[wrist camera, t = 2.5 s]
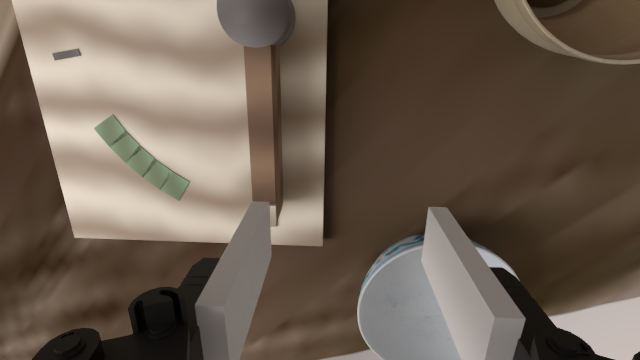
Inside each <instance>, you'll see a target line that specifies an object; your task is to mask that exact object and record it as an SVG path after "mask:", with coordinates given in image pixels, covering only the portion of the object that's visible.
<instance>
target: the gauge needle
mask: <svg viewBox="0 0 640 360" xmlns="http://www.w3.org/2000/svg"><path fill="white" fill-rule="evenodd" d="M217 15H218V19H219V21H220V24H221V26H222V28H223V29H224V31H225V32H226V34H227V35H228V36H229V37H230V38H231V39H232V40H234V41H235V42H237V43H239V44H240V45H243V46H244V63H245V80H246V97H247V114H248V131H249V148H250V165H251V183H252V200H253V201H257V202H269V204H270V227H276V226H277V221H278V218H279V216H280V213H281V210H282V207H283V168H282V127H281V86H280V45H281V44H283V43H284V42H285V41H286V40H288V38H289V37H290V36H291V34H292V32H293V30H294V26H295V20H296V16H295V9H294V6H293V3H292V1H291V0H217Z"/></svg>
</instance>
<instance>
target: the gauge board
mask: <svg viewBox="0 0 640 360" xmlns="http://www.w3.org/2000/svg"><path fill="white" fill-rule="evenodd" d="M291 1H292V3H293V6H294V9H295V16H296V20H295V26H294V30H293V32H292V34H291V36H290V37H289V38H288V40H286V41H285V42H284V43H283V44H281V45H280V86H281V127H282V168H283V207H282V210H281V213H280V216H279V218H278V221H277V226H276V227H270V229H271V244H273V245H302V246H323V216H324V167H325V118H326V69H327V20H328V0H291ZM12 3H13V7H14V11H15V14H16V18H17V22H18V26H19V29H20V33H21V37H22V41H23V45H24V48H25V52H26V56H27V60H28V63H29V67H30V71H31V75H32V78H33V82H34V86H35V90H36V93H37V97H38V101H39V105H40V109H41V112H42V116H43V120H44V124H45V127H46V131H47V135H48V139H49V142H50V146H51V150H52V154H53V158H54V161H55V165H56V169H57V173H58V176H59V180H60V184H61V188H62V191H63V195H64V199H65V203H66V207H67V210H68V214H69V218H70V222H71V225H72V229H73V233H74V237H75V238H101V239H130V240H158V241H187V242H216V243H229V242H230V240H231V239H232V237H233V235H234V233H235V231H236V230H237V228H238V226H239V224H240V222H241V221H242V219H243V217H244V215H245V213H246V211H247V210H248V208H249V206H250V204H251V202H252V201H253V200H252V183H251V165H250V148H249V131H248V114H247V97H246V80H245V63H244V46H243V45H240V44H239V43H237V42H235V41H234V40H232V39H231V38H230V37H229V36H228V35H227V34H226V32H225V31H224V29H223V28H222V26H221V24H220V21H219V19H218V15H217V0H12Z"/></svg>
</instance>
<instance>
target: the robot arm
mask: <svg viewBox="0 0 640 360" xmlns="http://www.w3.org/2000/svg"><path fill="white" fill-rule="evenodd" d="M271 256H272V254H271V229H270V204H269V202H257V201H252V202H251V204H250V206H249V208H248V210H247V211H246V213H245V215H244V217H243V219H242V221H241V222H240V224H239V226H238V228H237V230H236V231H235V233H234V235H233V237H232V239H231V240H230V242H229V244H228V246H227V248H226V249H225V251H224V253H223V255H222V257H221V258H203V259H201V260H200V261H199V262H197V263H196V264H195V265H193V266H192V268H191V269H190V271H189V272H188V274H187V275H186V278H184V280H183V281H182V283H181V286H179V287H178V289H177V288H172V287H160V288H156V289H152V290H149V291H147V292H145V293H143V294H141V295H139V296H138V297H137V298H136V299H135V300H133V301H132V303H131V304H130V306H129V308H128V311H129V315H130V320H131V324H132V329H133V333H134V334H131V335H128V336H124V337H119V338H114V339H109V340H104V341H101V339H100V335H99V332H97V331H96V330H94V329H90V328H80V329H74V330H71V331H68V332H66V333H63V334H61V335H59V336H57V337H56V338H54V339H52V340H50V341H49V342H48V343H47V344H46V345H45V346H44V347H43V348H41V349H40V351H39V352H38V353H37V354H36V355H35V356H34V358H33V359H32V360H239V359H240V356H241V353H242V349H243V346H244V343H245V340H246V337H247V333H248V330H249V327H250V324H251V321H252V317H253V314H254V311H255V308H256V304H257V301H258V298H259V295H260V292H261V288H262V285H263V282H264V279H265V275H266V272H267V269H268V266H269V263H270V259H271ZM421 262H422V265H423V267H424V270H425V272H426V274H427V277H428V279H429V282H430V284H431V287H432V289H433V292H434V294H435V296H436V299H437V301H438V304H439V306H440V309H441V311H442V314H443V316H444V319H445V321H446V323H447V326H448V328H449V331H450V333H451V336H452V338H453V341H454V343H455V346H456V348H457V350H458V353H459V355H460V358H461V360H614V359H610V358H606V357H603V356H599V355H596V354H595V353H594V351H593V350H592V348H591V347H590V346H589V345H588V344H587V343H586V342H585V341H583V340H582V339H581V338H579V337H578V336H576V335H574V334H572V333H571V332H568V331H565V330H563V329H560V328H557V327H556V326H555V325H554V324H553V322H552V321H551V320H550V319H549V317H548V316H547V315H546V314H545V312H544V311H543V310H542V309H541V307H540V306H539V305H538V304H537V302H536V301H535V300H534V299H533V298H531V295H530V294H529V292H528V291H527V290H526V289H524V286H523V285H522V284H521V282H520V281H519V280H518V279H517V277H516V276H514V275H513V274H511V273H510V272H508V271H507V270H506V269H504V268H501V267H489V266H488V265H487V264H486V262H485V261H484V259H483V258H482V256H481V255H480V254H479V252H478V251H477V249H476V248H475V247H474V245H473V244H472V242H471V241H470V240H469V238H468V237H467V235H466V234H465V233H464V231H463V230H462V228H461V227H460V226H459V224H458V223H457V221H456V220H455V218H454V217H453V216H452V214H451V213H450V211H449V210H448V209H447V207H428V215H427V222H426V229H425V237H424V244H423V251H422V259H421ZM632 360H640V352H638V353H637V354H635V355H634V357H633V359H632Z"/></svg>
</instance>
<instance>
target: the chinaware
mask: <svg viewBox="0 0 640 360" xmlns="http://www.w3.org/2000/svg"><path fill="white" fill-rule="evenodd" d="M424 237H425V233H423V234H418V235H414V236H410V237H407V238H405V239H403V240H400V241H398V242H397V243H395V244H393V245H392V246H390V247H389V248H388V249H387V250H385V251H384V252H383V253H382V254H381V255H380V256H379V257H378V258H377V260H376V261H375V262H374V263H373V265H372V266H371V268H370V270H369V271H368V273H367V275H366V277H365V280H364V282H363V285H362V288H361V292H360V296H359V301H358V309H357V317H358V324H359V328H360V331H361V334H362V336H363V338H364V340H365V342H366V343H367V345H368V346H369V347H370V348H371V350H372V351H373V352H374V353H375V354H376V355H377V356H379V357H380V358H381V359H383V360H461V358H460V355H459V353H458V350H457V348H456V346H455V343H454V341H453V338H452V336H451V333H450V331H449V328H448V326H447V323H446V321H445V319H444V316H443V314H442V311H441V309H440V306H439V304H438V301H437V299H436V296H435V294H434V292H433V289H432V287H431V284H430V282H429V279H428V277H427V274H426V272H425V270H424V267H423V265H422V262H421V259H422V251H423V244H424ZM469 240H470V239H469ZM470 241H471V242H472V244H473V245H474V247H475V248H476V249H477V251H478V252H479V254H480V255H481V256H482V258H483V259H484V261H485V262H486V264H487V265H488V266H489V267H501V268H504V269H506V270H507V271H508V272H510V273H511V274H513V275H514V276H516V277H517V275H516V274H515V272H514V271H513V270H512V268H511V267H510V266H509V265H508V264H507V263H506V262H505V261H504V260H503V259H501V258H500V257H499V256H498V255H496V254H495V253H493V252H492V251H491V250H489V249H487V248H486V247H484V246H482V245H480V244H478V243H476V242H474V241H472V240H470ZM517 279H518V277H517ZM518 280H519V279H518ZM519 281H520V280H519Z"/></svg>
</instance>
